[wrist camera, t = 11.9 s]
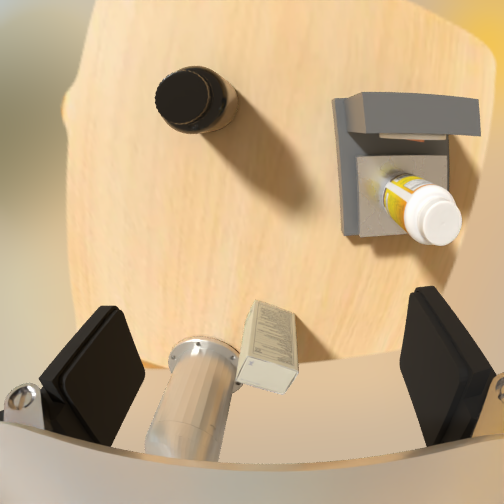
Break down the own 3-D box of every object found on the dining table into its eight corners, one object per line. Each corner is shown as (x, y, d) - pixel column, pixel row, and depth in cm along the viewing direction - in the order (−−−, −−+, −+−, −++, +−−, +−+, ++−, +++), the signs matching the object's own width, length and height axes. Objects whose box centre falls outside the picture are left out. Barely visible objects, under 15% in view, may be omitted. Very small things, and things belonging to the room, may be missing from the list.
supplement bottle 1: (180, 130, 37) (139, 133, 26) (186, 76, 34) (146, 58, 23) (236, 134, 36) (215, 138, 25) (243, 78, 34) (224, 58, 23)
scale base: (440, 223, 37) (481, 255, 27) (341, 230, 39) (359, 267, 29) (438, 101, 32) (485, 98, 22) (331, 99, 34) (350, 89, 23)
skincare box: (244, 321, 46) (232, 381, 35) (255, 297, 44) (245, 354, 33) (285, 336, 46) (283, 397, 35) (297, 312, 44) (300, 372, 33)
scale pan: (438, 225, 35) (445, 231, 34) (356, 231, 37) (360, 237, 35) (439, 153, 32) (447, 155, 30) (353, 155, 34) (357, 156, 32)
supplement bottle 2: (404, 230, 34) (441, 267, 25) (371, 199, 33) (401, 229, 24) (434, 194, 32) (479, 220, 23) (401, 161, 31) (443, 177, 22)
